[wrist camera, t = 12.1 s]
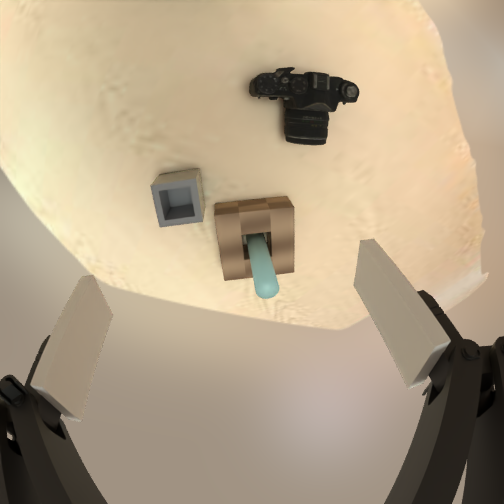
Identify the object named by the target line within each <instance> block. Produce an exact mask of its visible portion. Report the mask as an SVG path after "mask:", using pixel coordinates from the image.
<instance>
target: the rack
mask: <svg viewBox="0 0 504 504" xmlns="http://www.w3.org/2000/svg"><path fill="white" fill-rule="evenodd" d="M214 217H215V224H216V230H217V237H218V244H219V250H220V256H221V263H222V269H223V275H224V281H227V280H236V279H244V278H253V273H252V268H251V262H250V257H249V251H248V245H247V244H246V245H243V244H242V235H245V234H253V233H262V232H267V238H268V242H266V244H267V247H268V251H269V254H270V257H271V261H272V264H273V267H274V271H275V274H276V275H277V274H285V273H293V272H294V206H293V205H292V203H291V201H290V200H289V198H288V197H287V196H284V197H273V198H263V199H253V200H243V201H234V202H226V203H217V204H215V213H214Z"/></svg>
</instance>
